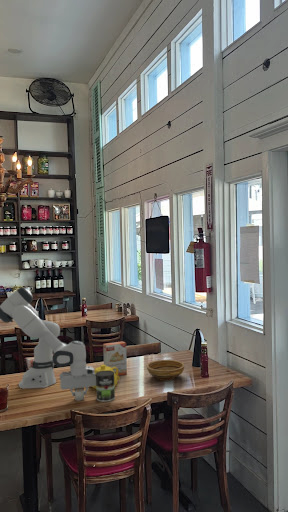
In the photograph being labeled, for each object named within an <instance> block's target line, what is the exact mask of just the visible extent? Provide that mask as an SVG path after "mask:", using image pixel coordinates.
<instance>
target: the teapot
mask: <svg viewBox="0 0 288 512" xmlns="http://www.w3.org/2000/svg"><path fill="white" fill-rule="evenodd" d="M113 369H116V374H115V372H114V371H113ZM94 370H95V374H96V373H97V372H99V371H113V372H114V387H115V388H116V386H117V384H118V381H119V380H120V378H121V377H120V376H118V368H116V367H112V368H111V367H108V366H106V365H104V364H101V365H99V366H98V367H95V368H94ZM91 387H92V389H94V390H96V386H91Z"/></svg>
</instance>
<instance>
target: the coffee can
mask: <svg viewBox="0 0 288 512" xmlns="http://www.w3.org/2000/svg"><path fill="white" fill-rule="evenodd" d="M115 389H116V386H115V387H114V372H113V371H99V372H97V373H96V389H95V390H96V400H97V402H103V403H104V402H111V401H114V400H115V399H116V395H115Z"/></svg>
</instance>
